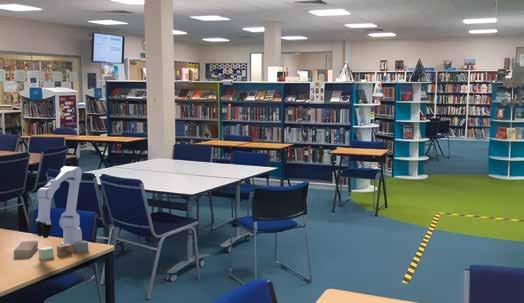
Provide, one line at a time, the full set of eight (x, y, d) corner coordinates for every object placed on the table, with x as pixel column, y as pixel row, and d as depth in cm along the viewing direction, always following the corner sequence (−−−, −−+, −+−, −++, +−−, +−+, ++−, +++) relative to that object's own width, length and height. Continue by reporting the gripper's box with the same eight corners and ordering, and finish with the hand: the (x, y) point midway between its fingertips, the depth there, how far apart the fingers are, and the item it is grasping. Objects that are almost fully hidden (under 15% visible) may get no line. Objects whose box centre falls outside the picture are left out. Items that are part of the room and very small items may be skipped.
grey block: (85, 249, 282) (84, 240, 281) (88, 251, 279) (88, 242, 278) (74, 251, 278) (74, 242, 277) (77, 253, 275) (77, 244, 274)
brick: (30, 257, 268) (29, 249, 267) (13, 258, 266) (12, 249, 266) (38, 248, 284) (38, 240, 283) (22, 249, 283) (22, 240, 282)
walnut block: (68, 252, 277) (68, 243, 276) (71, 254, 274) (71, 245, 273) (57, 254, 272) (56, 245, 272) (60, 256, 270) (59, 247, 269)
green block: (50, 255, 271) (50, 246, 271) (53, 257, 268) (53, 248, 268) (39, 258, 267) (38, 248, 267) (42, 259, 264) (41, 250, 264)
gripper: (31, 209, 270) (30, 235, 269) (41, 212, 259) (40, 239, 259) (45, 209, 275) (43, 234, 274) (55, 211, 264) (54, 238, 263)
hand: (42, 237), depth 267 cm, fingers open, 7 cm apart
